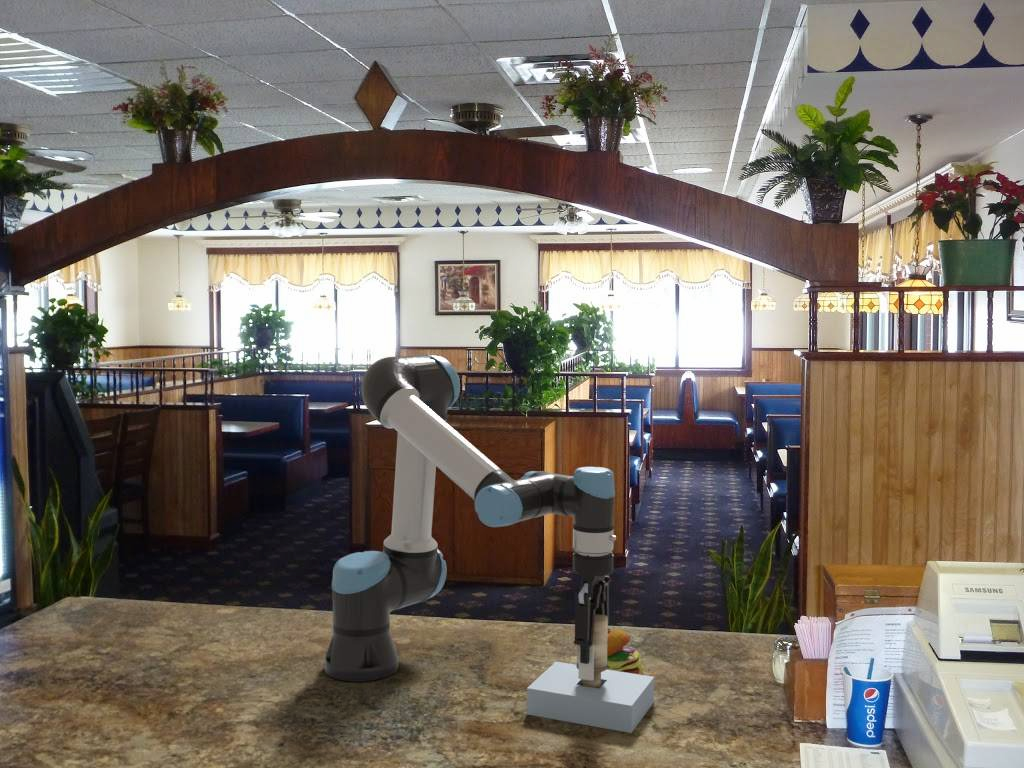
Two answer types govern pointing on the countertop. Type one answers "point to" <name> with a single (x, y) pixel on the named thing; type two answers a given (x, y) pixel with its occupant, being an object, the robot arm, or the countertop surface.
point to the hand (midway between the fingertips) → (591, 672)
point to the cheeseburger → (622, 654)
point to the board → (591, 698)
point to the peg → (598, 650)
